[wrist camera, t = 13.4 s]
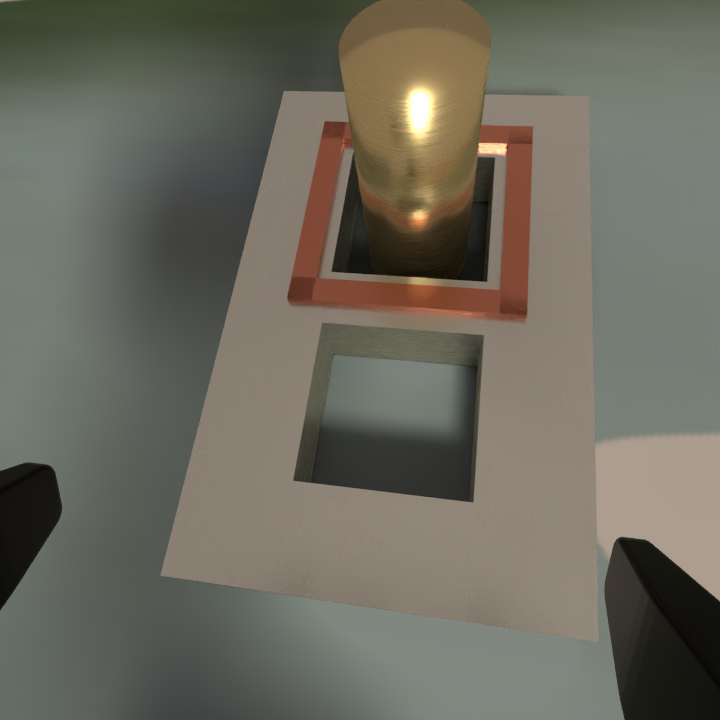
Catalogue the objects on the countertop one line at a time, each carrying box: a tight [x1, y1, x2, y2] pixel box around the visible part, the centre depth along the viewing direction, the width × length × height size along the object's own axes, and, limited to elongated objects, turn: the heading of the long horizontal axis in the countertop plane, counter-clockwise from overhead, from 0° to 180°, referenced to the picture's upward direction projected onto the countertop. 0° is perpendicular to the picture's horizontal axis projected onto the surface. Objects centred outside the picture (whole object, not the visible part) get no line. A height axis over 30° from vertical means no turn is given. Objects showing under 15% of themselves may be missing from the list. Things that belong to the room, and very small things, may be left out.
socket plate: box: [160, 91, 598, 642], centre depth 24 cm, size 22×14×3 cm, turn 172°
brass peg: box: [338, 0, 491, 280], centre depth 22 cm, size 4×4×11 cm
